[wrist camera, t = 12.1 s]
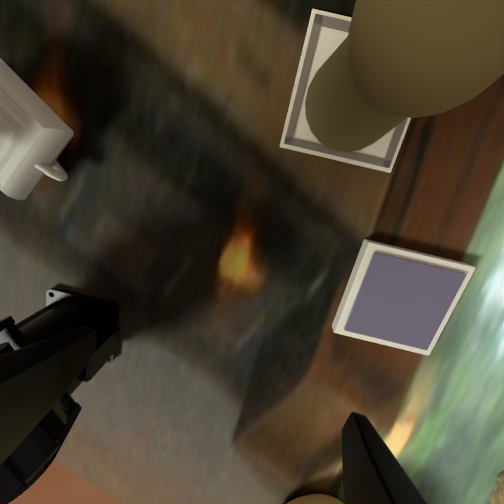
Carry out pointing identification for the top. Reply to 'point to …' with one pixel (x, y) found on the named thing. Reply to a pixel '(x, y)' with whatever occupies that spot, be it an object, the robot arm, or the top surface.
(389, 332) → the ink pad
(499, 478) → the pastry
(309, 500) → the sculpture
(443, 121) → the top surface
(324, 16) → the white flat square piece
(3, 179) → the stamp
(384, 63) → the brown peg figure
